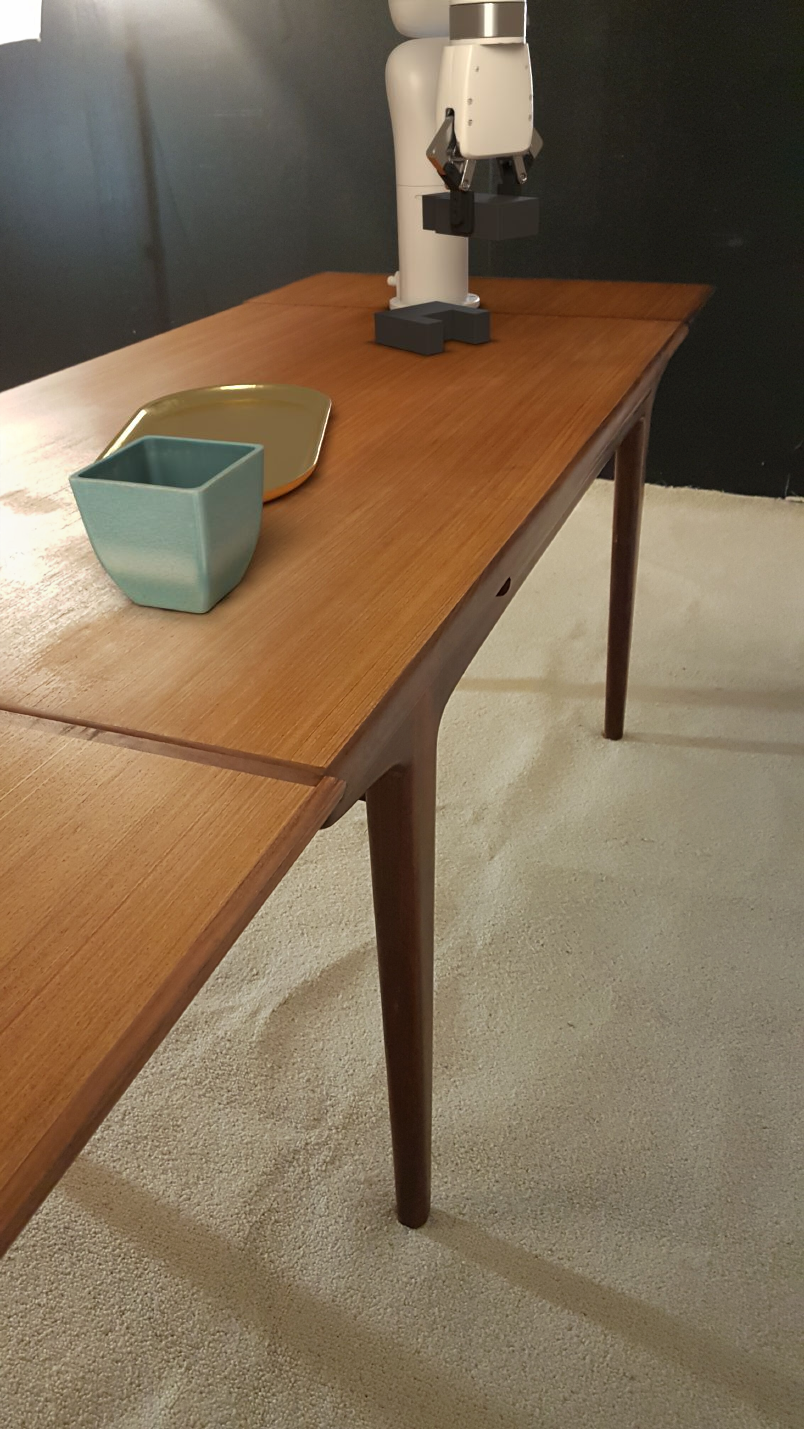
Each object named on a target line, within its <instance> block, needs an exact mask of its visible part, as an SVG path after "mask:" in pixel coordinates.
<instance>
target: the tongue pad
mask: <svg viewBox="0 0 804 1429" xmlns="http://www.w3.org/2000/svg"><path fill="white" fill-rule="evenodd" d="M474 194H475V202H474V231H473V232H472V233H463V232H455V231H452V230H451V228H450V192H442V193H434V194H427V195H422V218H423V230H431V231H435V233H437V234H444V235H452V236H460V237H468V239H474V240H475V239H476V240H483V241H491V242H502V241H508V240H514V239H520V238H526V237H533V236H538V235H539V224H540V198H539V197H529V196H521V197H519V196H507V195H497V193H495V194H494V193H483V192H474Z"/></svg>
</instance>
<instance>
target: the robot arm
mask: <svg viewBox="0 0 804 1429" xmlns="http://www.w3.org/2000/svg"><path fill="white" fill-rule="evenodd" d="M387 2H388V9H389V14H390V17H391V21H392V24H393V26H394V27H395V29H396V31H397V32H398V33H399V34H401V35H402V36H404V37H407V38H411V39H410V40H406V41H404V42H402V43H400V44H399V45H397V46H396V47H395V48H394V49H392V51H391V52H390V53H389V55H388V57H387V60H386V64H385V71H384V80H385V81H384V82H385V83H384V84H385V91H386V92H385V93H386V97H387V103H388V110H389V116H390V121H391V128H392V137H393V145H394V146H393V147H394V148H393V149H394V162H395V163H394V164H395V165H394V167H395V188H396V190H395V191H396V214H397V215H396V220H397V222H396V223H397V246H398V250H397V251H398V270H397V271H395V273H394V275H390V276H388V277H387V280H386V283H387V285H388V286H389V287H395V288H396V289H395V290H396V296H394V297H391V298H390V299H389V304H388V305H389V306H388V307H389V310H392V309H397V308H402V307H407V306H413V305H418V304H423V303H428V302H433V301H440V302H445V303H450V304H456V305H461V306H466V307H472V308H477V309H478V308H479V306H480V297H479V296H478V295H477V294H474V293H471V292H469V238H468V237H460V236H452V235H444V234H437V233H435V231H431V230H423V218H422V195H427V194H434V193H442V192H450V228H451V230H452V231H455V232H463V233H472V232H473V231H474V202H475V194H474V193H475V190H474V189H473V190H471V189H470V188H471V185H472V181H473V176H474V172H475V169H476V164H477V161H478V160H485V159H494V158H495V159H496V164H497V167H498V172H499V175H500V179H501V182H498V183H497V186H496V195H507V196H519V197H522V188H523V186H522V185H524V184H526V182H527V179H528V178H527V177H528V176H527V175H528V173H529V171H530V169H531V168H532V166H533V164H534V160H535V159H536V157H537V156H538V154H539V153H540V151H541V150H542V148H543V145H544V142H543V139H542V137H541V136H540V134H539V132H538V130H537V129H536V127H535V125H534V98H533V96H534V92H533V76H532V66H531V58H530V50H529V43H528V42H526V29H528V27H529V26H530V16H529V14H528V13H527V0H387ZM510 163H511V164H510Z"/></svg>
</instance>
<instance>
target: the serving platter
mask: <svg viewBox="0 0 804 1429" xmlns="http://www.w3.org/2000/svg"><path fill="white" fill-rule="evenodd" d="M331 411H332V400H331V399H330V397H329V396H328V395H327V394H325V393H324V392H321V391H320V390H317V389H314V388H311V387H306V386H304V385H303V386H302V385H297V384H290V383H289V384H288V383H279V382H278V383H277V382H276V383H275V382H240V383H226V384H216V385H208V386H202V387H196V388H190V389H186V390H185V389H184V390H181V391H178V392H174V393H170V394H167V395H163V396H161V397H158V398H155V399H153V400H151V401H149V402H147V403H145V404H144V405H142V406H140V407H139V408H138V409H137V410H136V411H135V412H134V414H133V415H132V416H131V417H130V418H129V419H128V421H127V422H126V423H125V424H124V426H122V428H121V429H120V430H119V432H118V433H116V435H115V436H114V437H113V439H112V440H111V441H110V442H109V444H107V446H106V447H105V448H104V450H103V451H102V452H101V453H100V454H99V456H97V457H96V459H95V460H94V462H96V461H98V460H100V459H102V458H104V457H106V456H107V455H109V454H111V453H113V452H115V451H117V450H118V449H120V448H122V447H123V446H126V445H127V444H129V443H130V442H132V441H134V440H136V439H138V438H141V437H143V436H146V435H158V436H170V437H182V438H194V439H205V440H215V441H227V442H239V443H252V444H261V445H263V446H264V478H263V504H264V503H266V502H270V501H273V500H274V499H275V500H276V499H277V498H280V497H282V496H284V495H286V494H288V493H289V492H291V491H293V490H294V489H296V488H298V487H299V486H300V485H301V484H303V483H304V482H305V481H306V480H307V479H308V478H309V477H310V475H311V474H312V473H313V472H314V470H315V468H316V466H317V464H318V460H319V457H320V453H321V448H322V445H323V441H324V438H325V434H326V429H327V426H328V423H329V422H328V421H329V418H330V414H331Z"/></svg>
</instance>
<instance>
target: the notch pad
mask: <svg viewBox="0 0 804 1429" xmlns="http://www.w3.org/2000/svg"><path fill="white" fill-rule="evenodd" d="M373 317H374V318H373V320H374V337H375V343H376V344H379V345H383V346H387V347H392V348H396V349H399V350H403V351H408V352H411V353H412V352H413V353H415V354H416V353H417V354H421V355H423V356H424V355H425V356H432V355H435V354H439V353H443V352H444V350H445V349H444V342H446V341H447V342H448V341H450V340H454V341H457V342H462V343H467V344H470V345H471V344H472V345H479V344H483V343H487V342H491V310H487V309H483V308H482V309H481V308H478V307H477V308H472V307H466V306H461V305H456V304H450V303H445V302H440V301H433V302H428V303H423V304H418V305H413V306H407V307H402V308H397V309H392V310H390V309H387V310H382V311H378V312H374V313H373Z"/></svg>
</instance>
